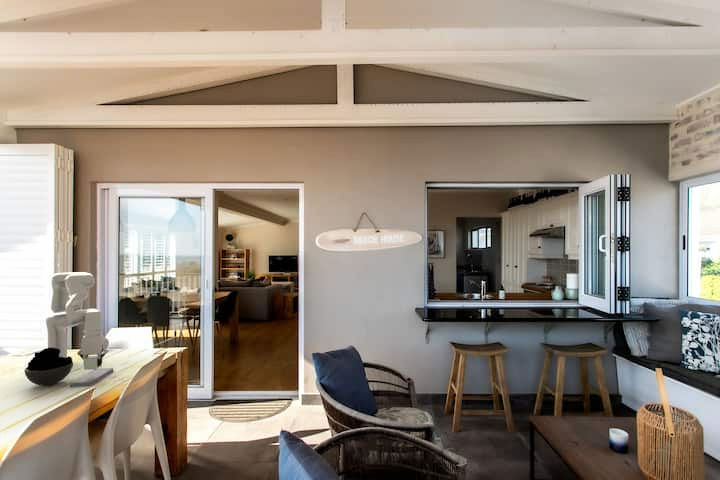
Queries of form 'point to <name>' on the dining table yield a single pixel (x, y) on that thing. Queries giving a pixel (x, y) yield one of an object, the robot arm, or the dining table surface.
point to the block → (91, 363)
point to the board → (91, 377)
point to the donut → (105, 342)
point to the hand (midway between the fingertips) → (92, 365)
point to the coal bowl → (48, 367)
